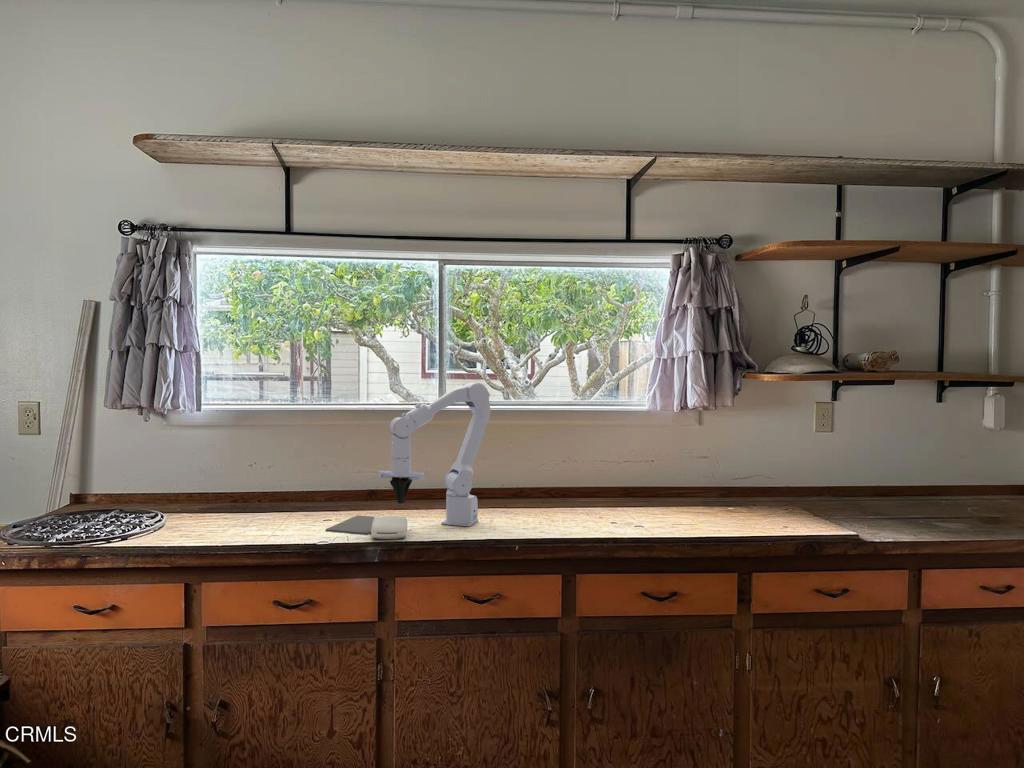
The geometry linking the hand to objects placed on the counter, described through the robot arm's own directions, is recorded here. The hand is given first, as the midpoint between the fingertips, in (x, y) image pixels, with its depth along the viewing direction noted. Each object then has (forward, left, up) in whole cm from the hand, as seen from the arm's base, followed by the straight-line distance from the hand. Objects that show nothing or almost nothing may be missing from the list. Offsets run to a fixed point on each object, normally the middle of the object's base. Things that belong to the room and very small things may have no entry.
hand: (401, 502), depth 189 cm
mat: (+13, 0, -8) cm, 15 cm away
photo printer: (+3, +2, -6) cm, 6 cm away
